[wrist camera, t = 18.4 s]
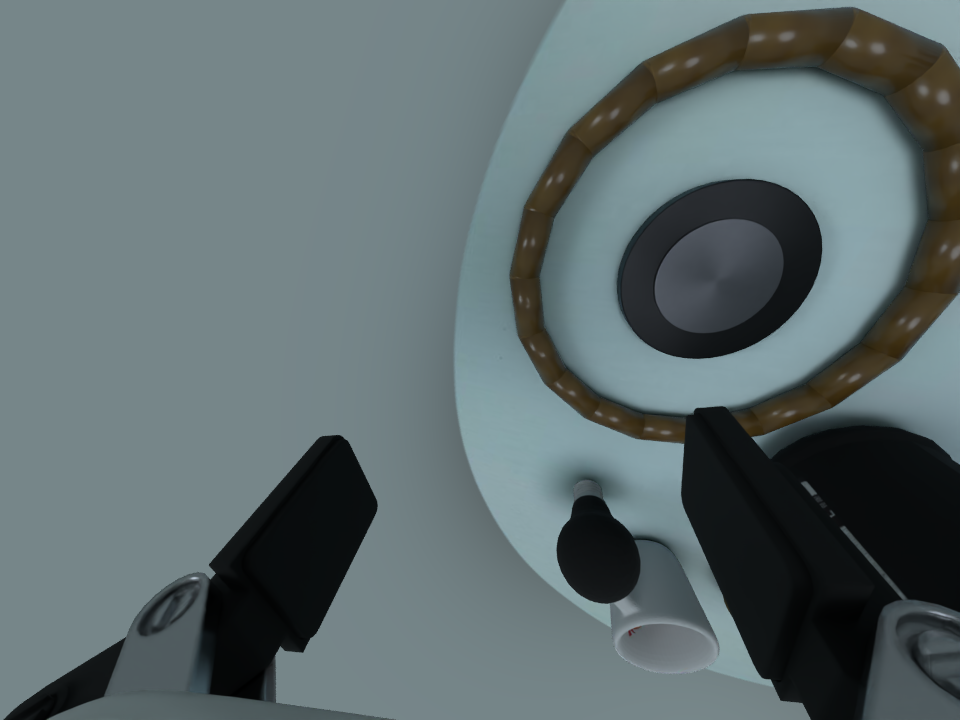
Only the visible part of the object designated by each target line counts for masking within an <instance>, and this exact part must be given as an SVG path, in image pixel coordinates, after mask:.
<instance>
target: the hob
mask: <svg viewBox="0 0 960 720" xmlns="http://www.w3.org/2000/svg"><path fill="white" fill-rule="evenodd" d="M821 256H822V237H821V232H820V228H819V225H818V222H817V220H816V218H815V216H814V214H813V212H812V211H811V209H810V208H809V207H808V205H807V204H806V203H805V202H804V201H803V200H802V199H801V198H800V197H799V196H798V195H796V194H795V193H793V192H792V191H790V190H789V189H787V188H785V187H782V186H780V185H778V184H775V183H771V182H767V181H763V180H754V179H736V180H723V181H717V182H711V183H708V184H705V185H701V186H698V187H695V188H693V189H691V190H688V191H686V192H684V193H682V194H680V195H678V196H677V197H675V198H673V199H671V200H670V201H669V202H667V203H666V204H664V205H663V206H661V207H660V208H659V209H658V210H657V211H656V212H654V213H653V214H652V215H651V216H650V217H649V218H648V219H647V220H646V221H645V222H644V223H643V225H642V226H641V227H640V228H639V230H638V231H637V232H636V234H635V235H634V236H633V238H632V240H631V241H630V243H629V245H628V247H627V249H626V251H625V253H624V256H623V258H622V261H621V264H620V268H619V273H618V280H617V293H618V300H619V304H620V307H621V311H622V313H623V315H624V317H625V319H626V321H627V322H628V324H629V325H630V327H631V328H632V330H633V331H634V332H635V333H636V334H637V336H638V337H639V338H640V339H641V340H643V341H644V342H645V343H646V344H648V345H649V346H651V347H653V348H654V349H656V350H658V351H661V352H663V353H665V354H669V355H672V356H676V357H682V358H693V359H702V358H713V357H719V356H723V355H727V354H731V353H734V352H737V351H740V350H742V349H745V348H747V347H749V346H751V345H753V344H755V343H757V342H759V341H761V340H762V339H764V338H766V337H767V336H769V335H770V334H772V333H773V332H774V331H776V330H777V329H778V328H780V327H781V326H782V325H783V324H784V323H785V322H786V321H787V320H788V319H789V318H790V317H791V316H792V315H793V314H794V313H795V312H796V311H797V310H798V308H799V307H800V306H801V304H802V303H803V302H804V300H805V299H806V297H807V296H808V294H809V292H810V290H811V288H812V287H813V284H814V282H815V279H816V277H817V275H818V271H819V267H820V263H821Z"/></svg>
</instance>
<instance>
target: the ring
mask: <svg viewBox="0 0 960 720" xmlns="http://www.w3.org/2000/svg"><path fill="white" fill-rule="evenodd" d="M795 67H818V68H820V69H823V70H825V71H827V72H830V73H832V74H834V75H837V76H839V77H842V78H844V79H846V80H849V81H851V82H853V83H856V84H858V85H860V86H863V87H865V88H867V89H870V90H872V91H875V92H877V93H879V94H882V95H884V97H885V98H886V100H887V101H888V102H889V104H890V105H891V107H892V108H893V109H894V111H895V112H896V114H897V115H898V116H899V118H900V119H901V121H902V122H903V123H904V125H905V126H906V128H907V129H908V130H909V132H910V133H911V135H912V136H913V137H914V139H915V140H916V142H917V143H918V145H919V146H920V147H921V149H922V150H923V160H924V172H925V184H926V196H927V209H928V221H927V224H926V227H925V230H924V233H923V235H922V238H921V241H920V244H919V247H918V249H917V252H916V255H915V258H914V261H913V264H912V266H911V269H910V272H909V275H908V278H907V280H906V283H905V286H904V287H903V289H902V290H901V291H900V292H899V294H898V295H897V296H896V298H895V299H894V300H893V301H892V303H891V304H890V305H889V307H888V308H887V309H886V310H885V312H884V313H883V314H882V316H881V317H880V318H879V319H878V321H877V322H876V323H875V325H874V326H873V327H872V328H871V330H870V331H869V332H868V334H867V335H866V336H865V337H864V339H863V340H862V341H861V343H859V344H858V345H857V346H855V347H854V348H853V349H851V350H850V351H849V352H847V353H846V354H845V355H843V356H842V357H841V358H839V359H838V360H837V361H835V362H834V363H833V364H831V365H830V366H829V367H828V368H826V369H825V370H824V371H822V372H821V373H820V374H818V375H817V376H816V377H814V378H813V379H812V380H810V381H809V382H808V383H806V384H804V385H802V386H800V387H797V388H795V389H793V390H790V391H788V392H786V393H784V394H781V395H779V396H777V397H774V398H772V399H770V400H767V401H765V402H763V403H760V404H758V405H756V406H753V407H751V408H749V409H744V410H738V411H732V412H730V413H731V414H732V415H733V416H734V417H735V419H736V420H737V421H738V422H739V423H740V425H741V426H742V427H743V428H744V429H745V431H746V432H747V433H748V434H749V435H750V437H754V436H761V435H765V434H767V433H770V432H772V431H775V430H777V429H780V428H783V427H785V426H788V425H790V424H793V423H795V422H798V421H800V420H803V419H805V418H808V417H810V416H813V415H815V414H818V413H820V412H823V411H825V410H828V409H831V408H833V407H834V406H836V405H837V404H839V403H840V402H842V401H843V400H844V399H846V398H847V397H849V396H850V395H852V394H853V393H855V392H856V391H857V390H859V389H860V388H862V387H863V386H865V385H866V384H868V383H869V382H870V381H872V380H873V379H875V378H876V377H878V376H879V375H881V374H882V373H883V372H885V371H886V370H888V369H889V368H891V367H892V366H894V365H895V364H896V363H898V362H899V361H900V360H902V359H903V357H904V356H905V355H906V354H907V353H908V352H909V350H910V349H911V348H912V347H913V346H914V345H915V344H916V342H917V341H918V340H919V339H920V338H921V337H922V335H923V334H924V333H925V332H926V331H927V330H928V328H929V327H930V326H931V325H932V324H933V323H934V322H935V320H936V319H937V318H938V317H939V316H940V315H941V313H942V312H943V311H944V310H945V309H946V308H947V307H948V305H949V304H950V303H951V302H952V301H953V300H954V298H955V297H956V296H957V295H958V293H959V292H960V68H959V67H958V65H957V64H956V62H955V61H954V59H953V58H952V56H951V54H950V53H949V51H948V50H947V48H946V47H945V46H944V45H942V44H940V43H938V42H935V41H933V40H931V39H928V38H926V37H924V36H921V35H919V34H917V33H914V32H912V31H910V30H907V29H905V28H903V27H900V26H898V25H896V24H893V23H891V22H889V21H886V20H884V19H882V18H879V17H877V16H875V15H872V14H870V13H868V12H865V11H863V10H861V9H858V8H855V7H841V8H827V9H813V10H799V11H785V12H771V13H757V14H747V15H742V16H739V17H737V18H735V19H733V20H731V21H729V22H727V23H724V24H722V25H720V26H718V27H716V28H714V29H711V30H709V31H707V32H705V33H703V34H701V35H699V36H696V37H694V38H692V39H690V40H688V41H686V42H684V43H681V44H679V45H677V46H675V47H673V48H671V49H668V50H666V51H664V52H662V53H660V54H658V55H656V56H653V57H651V58H649V59H647V60H645V61H643V62H642V63H641V64H639V65H638V66H637V67H636V68H635V69H634V70H633V71H632V72H631V73H630V74H629V75H627V76H626V77H625V78H624V79H623V80H622V81H621V82H620V83H619V84H618V85H617V86H616V87H614V88H613V89H612V90H611V91H610V92H609V93H608V94H607V95H606V96H605V97H604V98H603V99H601V100H600V101H599V102H598V103H597V104H596V105H595V106H594V107H593V108H592V109H591V110H589V111H588V112H587V113H586V114H585V115H584V116H583V117H582V118H581V119H580V120H579V121H578V122H576V123H575V124H574V125H573V126H572V127H571V128H570V129H569V130H568V131H567V133H566V134H565V136H564V138H563V139H562V141H561V143H560V145H559V146H558V148H557V150H556V152H555V153H554V155H553V157H552V158H551V160H550V162H549V164H548V165H547V167H546V169H545V170H544V172H543V174H542V176H541V177H540V179H539V181H538V182H537V184H536V186H535V188H534V189H533V191H532V193H531V195H530V196H529V198H528V200H527V201H526V203H525V205H524V209H523V214H522V218H521V223H520V228H519V232H518V237H517V242H516V246H515V251H514V256H513V261H512V265H511V270H510V284H511V291H512V298H513V306H514V313H515V320H516V328H517V334H518V337H519V339H520V341H521V343H522V344H523V346H524V348H525V350H526V352H527V353H528V355H529V357H530V359H531V361H532V363H533V364H534V366H535V368H536V370H537V372H538V373H539V375H540V377H541V379H542V381H543V382H544V384H545V385H546V386H548V387H549V388H550V389H551V390H552V391H553V392H555V393H556V394H557V395H558V396H559V397H560V398H562V399H563V400H564V401H565V402H566V403H567V404H569V405H570V406H571V407H572V408H573V409H574V410H576V411H577V412H578V413H579V414H580V415H582V416H583V417H584V418H586V419H588V420H590V421H593V422H595V423H598V424H600V425H603V426H605V427H608V428H610V429H613V430H615V431H618V432H620V433H623V434H625V435H628V436H630V437H633V438H635V439H641V440H651V441H661V442H671V443H681V444H684V442H685V427H686V418H683V417H672V416H660V415H649V414H641V413H638V412H636V411H633V410H631V409H628V408H626V407H623V406H621V405H618V404H616V403H613V402H611V401H609V400H606V399H604V398H601V397H599V396H597V395H596V394H595V393H594V392H593V391H592V390H591V389H590V388H588V387H587V386H586V385H585V384H584V383H583V382H582V381H580V380H579V379H578V378H577V377H576V376H575V375H574V374H572V373H571V372H570V371H569V370H568V369H567V368H566V367H565V366H564V364H563V362H562V360H561V358H560V356H559V354H558V352H557V350H556V348H555V346H554V344H553V342H552V340H551V338H550V336H549V334H548V333H547V331H546V329H545V327H544V316H543V306H542V296H541V286H540V272H541V268H542V264H543V260H544V256H545V253H546V249H547V245H548V241H549V237H550V233H551V229H552V225H553V221H554V217H555V216H556V214H557V213H558V211H559V210H560V208H561V206H562V205H563V203H564V202H565V200H566V199H567V197H568V195H569V194H570V192H571V191H572V189H573V188H574V186H575V184H576V183H577V181H578V180H579V178H580V177H581V175H582V173H583V172H584V170H585V169H586V167H587V166H588V164H589V162H590V161H591V159H592V158H593V157H594V156H595V155H596V154H597V153H598V152H600V151H601V150H602V149H603V148H604V147H605V146H607V145H608V144H609V143H610V142H611V141H612V140H614V139H615V138H616V137H617V136H618V135H619V134H621V133H622V132H623V131H624V130H625V129H626V128H628V127H629V126H630V125H631V124H632V123H633V122H635V121H636V120H637V119H638V118H639V117H640V116H642V115H643V114H644V113H645V112H646V111H647V110H649V109H650V108H651V107H652V106H653V105H654V104H656V103H659V102H661V101H663V100H666V99H668V98H670V97H673V96H675V95H677V94H680V93H682V92H684V91H687V90H689V89H691V88H694V87H696V86H698V85H701V84H703V83H706V82H708V81H710V80H713V79H715V78H717V77H720V76H722V75H724V74H727V73H729V72H731V71H735V70H755V69H775V68H795Z"/></svg>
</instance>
